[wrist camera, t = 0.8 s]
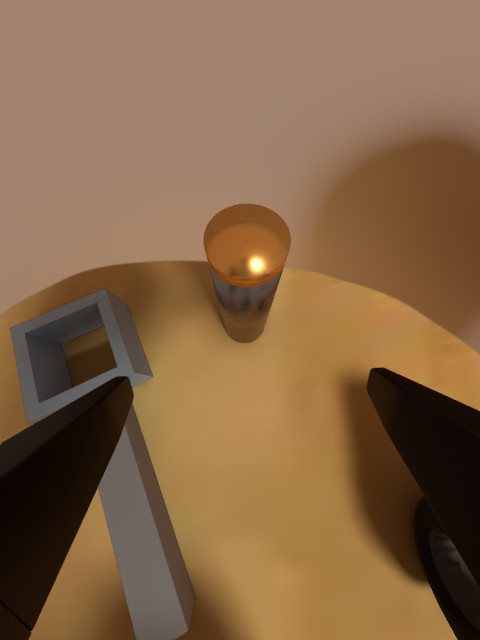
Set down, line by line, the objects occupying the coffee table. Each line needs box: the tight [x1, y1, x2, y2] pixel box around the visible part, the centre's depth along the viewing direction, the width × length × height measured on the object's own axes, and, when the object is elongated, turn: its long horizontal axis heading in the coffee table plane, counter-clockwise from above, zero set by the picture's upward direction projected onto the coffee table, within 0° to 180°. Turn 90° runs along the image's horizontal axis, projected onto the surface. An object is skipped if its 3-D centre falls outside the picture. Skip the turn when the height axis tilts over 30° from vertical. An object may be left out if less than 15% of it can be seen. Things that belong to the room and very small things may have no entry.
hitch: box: [10, 288, 196, 640], centre depth 18 cm, size 24×8×4 cm, turn 26°
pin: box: [204, 204, 291, 343], centre depth 17 cm, size 4×4×13 cm
